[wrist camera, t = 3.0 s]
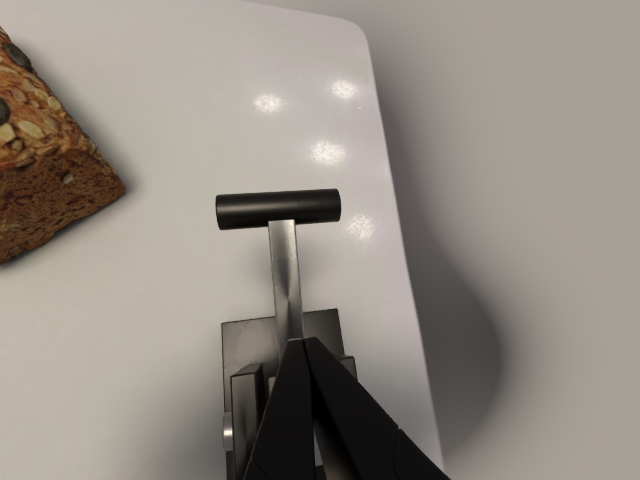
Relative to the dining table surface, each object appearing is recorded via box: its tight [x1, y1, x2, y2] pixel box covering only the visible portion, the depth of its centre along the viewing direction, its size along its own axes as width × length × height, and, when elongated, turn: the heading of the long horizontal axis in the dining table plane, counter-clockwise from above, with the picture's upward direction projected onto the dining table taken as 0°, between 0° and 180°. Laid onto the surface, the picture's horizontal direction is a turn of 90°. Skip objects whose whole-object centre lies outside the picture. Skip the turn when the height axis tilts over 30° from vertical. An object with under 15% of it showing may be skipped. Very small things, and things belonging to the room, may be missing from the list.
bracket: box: [221, 308, 358, 480], centre depth 16 cm, size 10×8×10 cm
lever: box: [216, 189, 341, 466], centre depth 13 cm, size 11×5×2 cm, turn 8°
